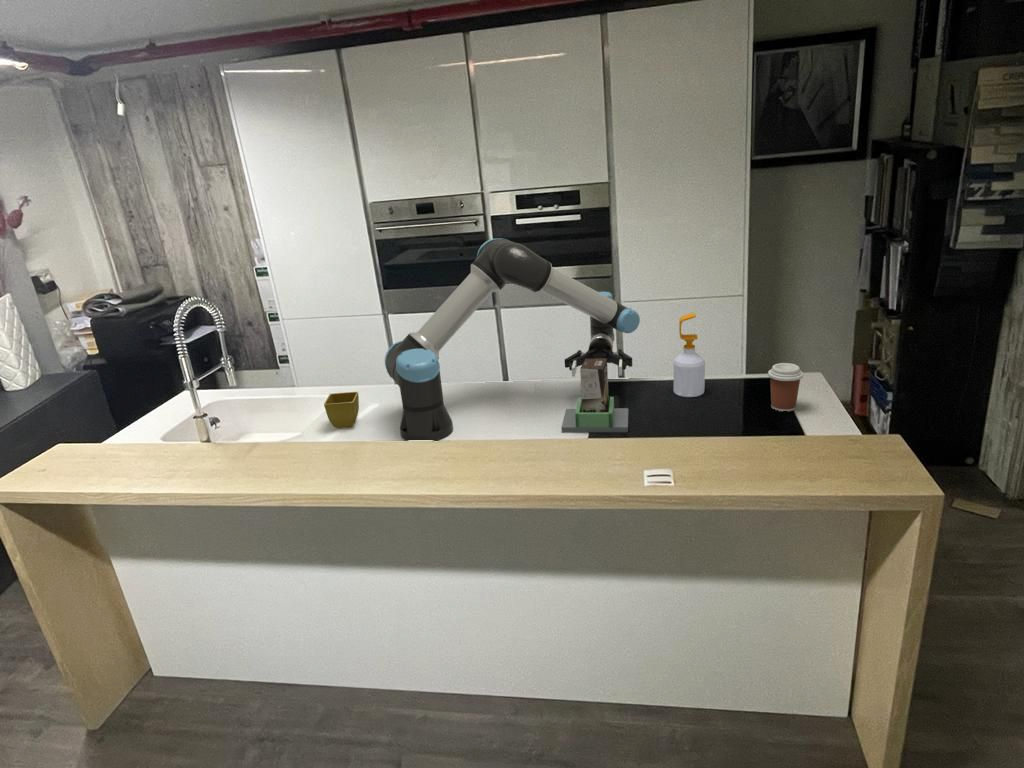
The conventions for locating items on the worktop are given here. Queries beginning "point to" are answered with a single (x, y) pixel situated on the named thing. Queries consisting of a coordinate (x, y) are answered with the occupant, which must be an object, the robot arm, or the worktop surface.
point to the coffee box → (594, 385)
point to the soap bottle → (689, 367)
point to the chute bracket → (595, 419)
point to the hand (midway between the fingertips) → (596, 371)
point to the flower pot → (342, 409)
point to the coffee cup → (784, 386)
